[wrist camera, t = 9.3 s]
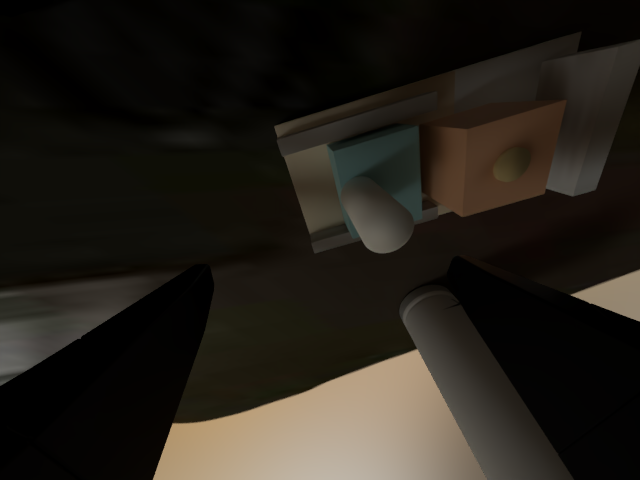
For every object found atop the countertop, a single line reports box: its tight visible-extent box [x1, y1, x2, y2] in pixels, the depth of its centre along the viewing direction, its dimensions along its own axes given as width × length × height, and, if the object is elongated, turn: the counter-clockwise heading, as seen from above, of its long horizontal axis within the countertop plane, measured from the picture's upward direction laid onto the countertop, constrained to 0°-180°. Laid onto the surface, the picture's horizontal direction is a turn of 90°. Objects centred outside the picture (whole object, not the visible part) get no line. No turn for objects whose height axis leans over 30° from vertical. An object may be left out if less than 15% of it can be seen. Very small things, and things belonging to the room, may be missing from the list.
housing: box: [419, 99, 567, 217], centre depth 15 cm, size 5×5×5 cm
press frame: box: [274, 31, 640, 253], centre depth 16 cm, size 10×20×6 cm, turn 105°
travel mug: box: [399, 285, 574, 480], centre depth 18 cm, size 6×7×20 cm
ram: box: [326, 123, 422, 253], centre depth 14 cm, size 6×5×8 cm
